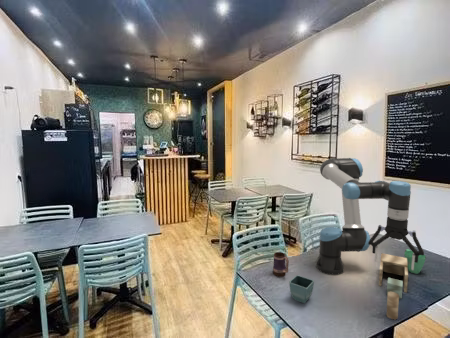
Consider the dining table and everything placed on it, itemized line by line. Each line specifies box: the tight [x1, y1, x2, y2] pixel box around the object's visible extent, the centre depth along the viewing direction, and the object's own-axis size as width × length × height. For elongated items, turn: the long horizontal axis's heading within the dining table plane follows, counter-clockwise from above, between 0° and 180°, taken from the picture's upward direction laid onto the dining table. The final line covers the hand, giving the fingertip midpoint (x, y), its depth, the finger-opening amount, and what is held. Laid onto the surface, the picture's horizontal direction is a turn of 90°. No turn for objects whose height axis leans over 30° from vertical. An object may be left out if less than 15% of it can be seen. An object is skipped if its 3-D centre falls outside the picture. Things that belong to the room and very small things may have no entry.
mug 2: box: [404, 248, 427, 275], centre depth 151 cm, size 15×10×10 cm
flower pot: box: [288, 274, 315, 304], centre depth 124 cm, size 9×9×9 cm
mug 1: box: [272, 251, 290, 278], centre depth 146 cm, size 10×7×12 cm
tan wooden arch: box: [378, 253, 409, 294], centre depth 139 cm, size 12×19×10 cm, turn 147°
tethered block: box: [385, 277, 404, 321], centre depth 120 cm, size 6×25×10 cm, turn 145°
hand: (393, 264), depth 116 cm, fingers open, 13 cm apart
